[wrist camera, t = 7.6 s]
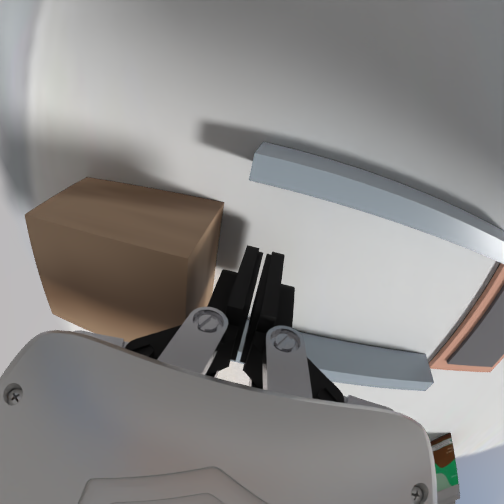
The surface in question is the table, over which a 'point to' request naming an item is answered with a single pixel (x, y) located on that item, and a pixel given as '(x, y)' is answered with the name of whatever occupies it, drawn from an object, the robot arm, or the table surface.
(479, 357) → the pad
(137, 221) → the walnut block
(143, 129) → the table surface
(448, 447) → the food container
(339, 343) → the channel
